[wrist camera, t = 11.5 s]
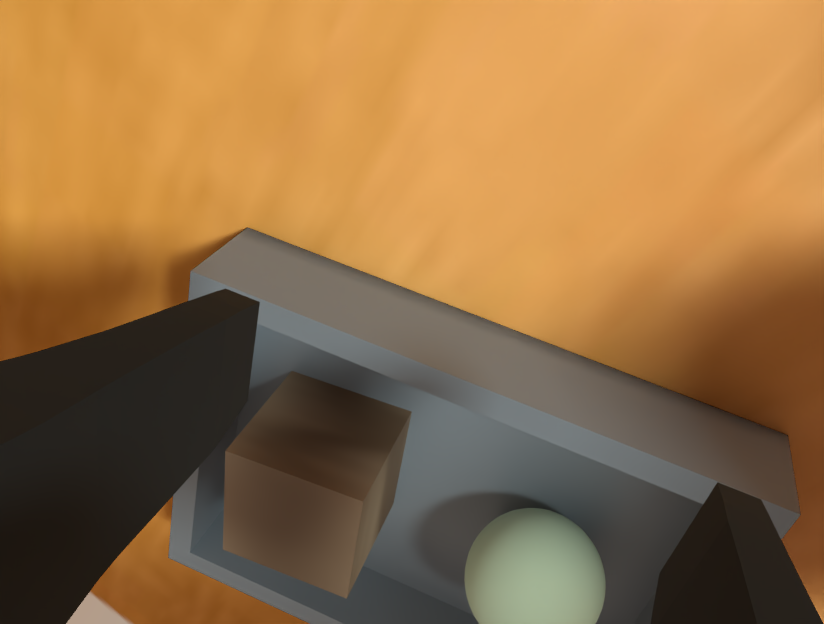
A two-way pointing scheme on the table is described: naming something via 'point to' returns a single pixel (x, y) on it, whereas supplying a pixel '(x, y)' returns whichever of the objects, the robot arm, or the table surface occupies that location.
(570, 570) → the green ball
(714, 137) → the table surface
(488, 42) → the table surface
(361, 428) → the walnut cube
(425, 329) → the serving tray
